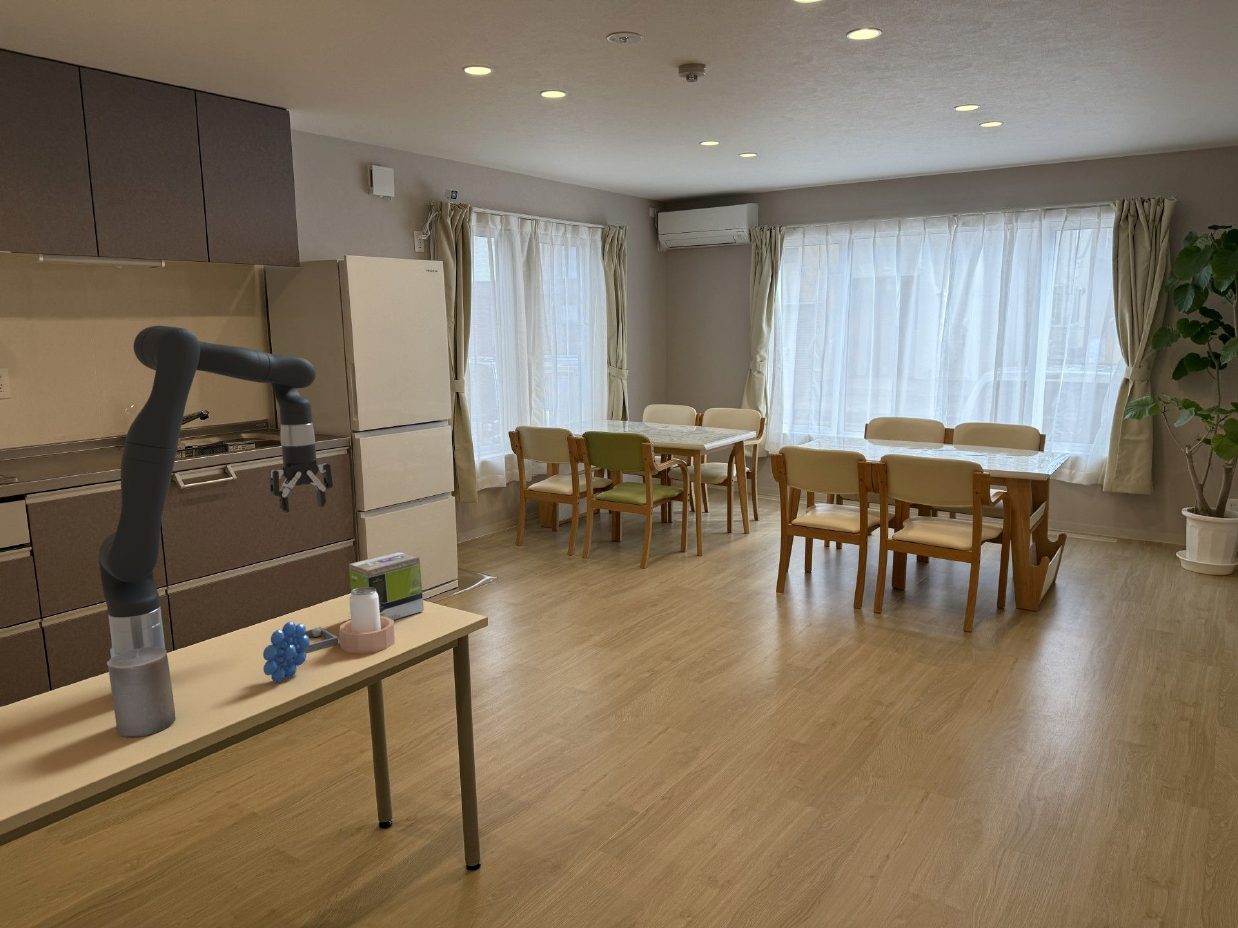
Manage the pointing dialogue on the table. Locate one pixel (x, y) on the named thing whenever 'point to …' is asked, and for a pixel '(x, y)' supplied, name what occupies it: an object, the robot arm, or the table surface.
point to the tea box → (391, 583)
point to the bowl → (367, 637)
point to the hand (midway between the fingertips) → (303, 509)
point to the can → (364, 610)
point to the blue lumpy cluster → (286, 651)
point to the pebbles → (316, 632)
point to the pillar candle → (141, 691)
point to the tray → (322, 644)
